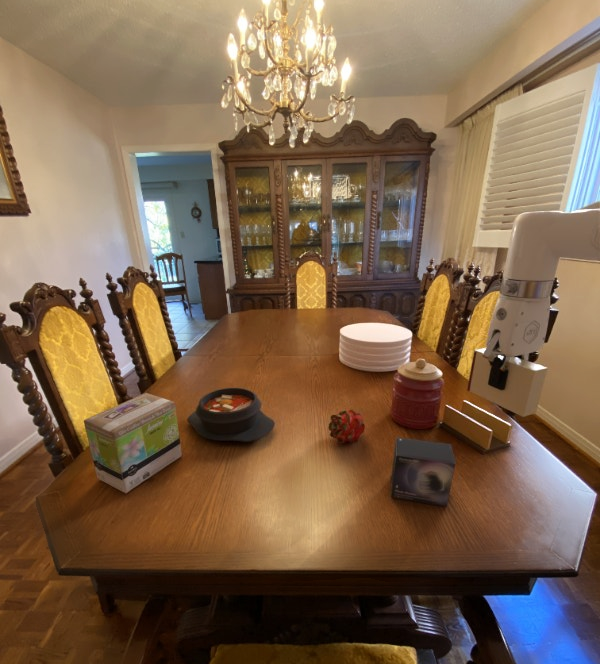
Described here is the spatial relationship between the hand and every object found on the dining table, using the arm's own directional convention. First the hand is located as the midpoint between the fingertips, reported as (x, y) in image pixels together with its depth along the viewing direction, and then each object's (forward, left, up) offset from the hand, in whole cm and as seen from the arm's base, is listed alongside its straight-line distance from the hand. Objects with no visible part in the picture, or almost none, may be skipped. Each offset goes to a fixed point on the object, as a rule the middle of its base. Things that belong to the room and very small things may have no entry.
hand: (503, 384), depth 67 cm
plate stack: (-19, -70, -21) cm, 76 cm away
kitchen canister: (-2, -25, -21) cm, 33 cm away
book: (0, 0, -4) cm, 4 cm away
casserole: (+46, -41, -21) cm, 65 cm away
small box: (+17, -1, -21) cm, 27 cm away
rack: (-10, -12, -21) cm, 26 cm away
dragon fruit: (+20, -24, -21) cm, 38 cm away
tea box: (+68, -32, -21) cm, 78 cm away
